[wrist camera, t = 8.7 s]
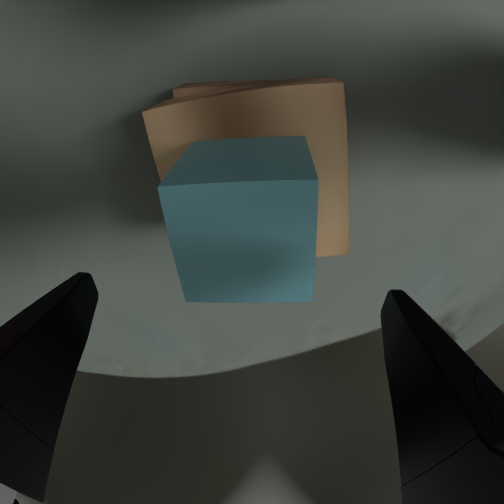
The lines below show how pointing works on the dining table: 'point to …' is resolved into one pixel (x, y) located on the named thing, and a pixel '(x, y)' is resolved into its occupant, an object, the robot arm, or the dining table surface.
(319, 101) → the oak slab
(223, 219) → the teal cube
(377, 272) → the dining table surface
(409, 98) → the dining table surface
